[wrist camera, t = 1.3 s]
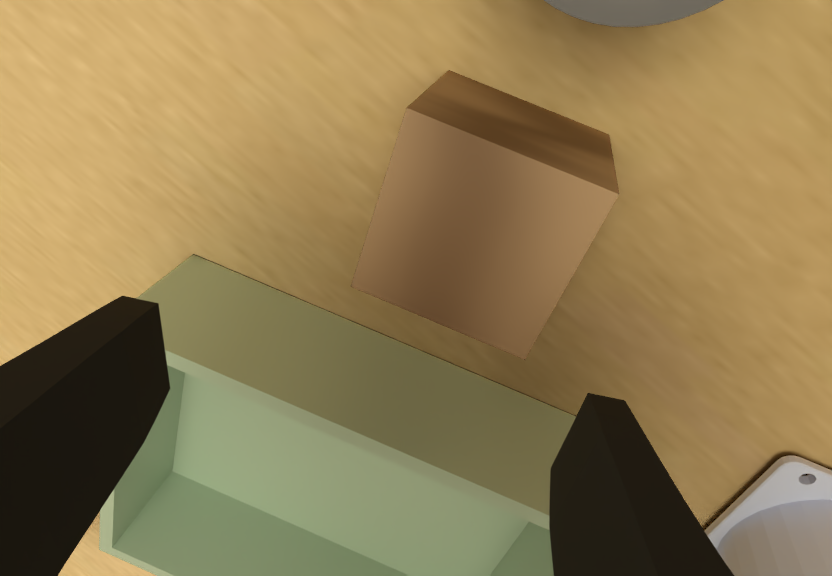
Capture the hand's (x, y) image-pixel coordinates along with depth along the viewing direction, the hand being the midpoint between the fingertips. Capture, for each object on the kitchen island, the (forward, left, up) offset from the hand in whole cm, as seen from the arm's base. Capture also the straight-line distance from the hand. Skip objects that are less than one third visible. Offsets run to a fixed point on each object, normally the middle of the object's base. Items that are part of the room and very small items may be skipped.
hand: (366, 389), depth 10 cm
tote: (0, +13, -10) cm, 17 cm away
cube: (-1, -1, -10) cm, 10 cm away
